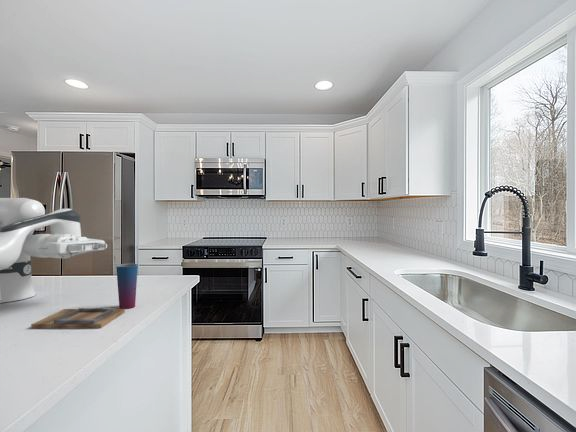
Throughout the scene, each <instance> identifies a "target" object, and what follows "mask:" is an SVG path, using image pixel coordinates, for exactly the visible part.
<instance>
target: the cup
mask: <svg viewBox="0 0 576 432" xmlns="http://www.w3.org/2000/svg"><path fill="white" fill-rule="evenodd" d="M115 267H116V277H117V278H116V279H117V280H116V281H117V292H118V295H117V296H118V306H119V308H118V309H125V310H129V309H133V308H135V307H136V299H137V298H136V297H137V282H138V267H139V265H138V264H137V263H122V264H121V263H120V264H117V265H116V266H115Z"/></svg>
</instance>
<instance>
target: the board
mask: <svg viewBox="0 0 576 432" xmlns="http://www.w3.org/2000/svg"><path fill="white" fill-rule="evenodd" d="M125 312H126V309H120V308H114V307H78V308H64V309H62V310H59V311H57V312H54V313H53V314H51V315H48V316H46V317H44V318H42V319H40V320H38V321H36V322H33V323H31V324H30V326H31V327H30V329H102V328H103V327H105V326H106V325H108V324H110V323H111V322H113V321H114V320H116V319H117V318H119V317H121V316H122V315H124V314H125Z"/></svg>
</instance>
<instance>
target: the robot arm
mask: <svg viewBox="0 0 576 432" xmlns="http://www.w3.org/2000/svg"><path fill="white" fill-rule="evenodd" d="M47 226H50V233H39V234H38V233H36V234H34V233H35V230H39V229H40V228H44V227H47ZM105 249H108V244H107V243H106V241H105V240H103V239H99V238H98V239H96V238H88V237H87V236H82V228H81V214H80V213H79V212H78V211H76V210H75V209H74V208H60V209H57V210H54V211H51V212H48V213H46V209H45V207H44V205H43V204H42V202H40V201H38V200H37V199H36V200H35V199H32V198H27V197H0V304H2V303H9V302H16V301H21V300H25V299H29V298H32V297H35V296H36V295H37V293H36V291H35V287H34V284H33V279H32V278H33V277H32V269H33V261H32V259H31V257H34V258H43V259H45V258H46V259H47V258H53V259H69V258H71V257H75V256H78V255H83V254H86V253H88V252H97V251H104V250H105Z"/></svg>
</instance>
